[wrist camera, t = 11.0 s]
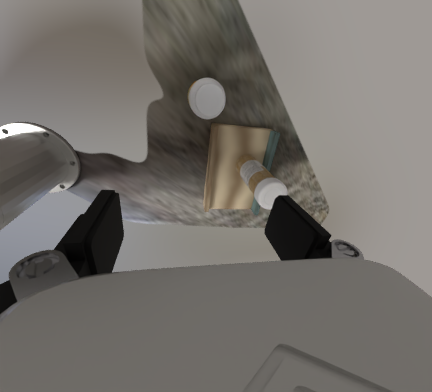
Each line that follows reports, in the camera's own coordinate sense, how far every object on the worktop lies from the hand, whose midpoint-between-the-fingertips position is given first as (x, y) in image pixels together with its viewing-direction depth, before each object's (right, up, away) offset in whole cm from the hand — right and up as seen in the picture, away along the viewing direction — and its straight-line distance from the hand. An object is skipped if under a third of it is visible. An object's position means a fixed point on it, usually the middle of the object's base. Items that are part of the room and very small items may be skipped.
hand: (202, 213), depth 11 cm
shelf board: (+5, +7, +29) cm, 30 cm away
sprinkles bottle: (+7, +8, +27) cm, 29 cm away
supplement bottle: (-2, +18, +22) cm, 28 cm away
